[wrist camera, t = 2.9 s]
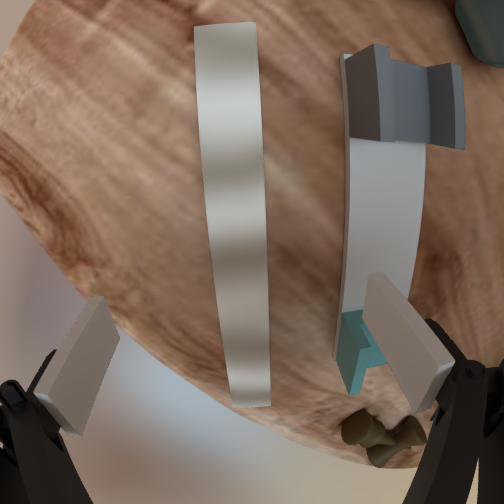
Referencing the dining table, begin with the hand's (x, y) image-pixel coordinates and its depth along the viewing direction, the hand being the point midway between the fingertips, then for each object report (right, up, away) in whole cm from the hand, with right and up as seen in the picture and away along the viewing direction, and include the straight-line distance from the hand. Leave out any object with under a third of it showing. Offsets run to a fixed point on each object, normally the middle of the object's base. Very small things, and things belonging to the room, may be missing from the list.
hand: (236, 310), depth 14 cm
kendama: (+22, -25, +24) cm, 41 cm away
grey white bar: (0, +4, +9) cm, 10 cm away
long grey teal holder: (+12, +5, +9) cm, 16 cm away
